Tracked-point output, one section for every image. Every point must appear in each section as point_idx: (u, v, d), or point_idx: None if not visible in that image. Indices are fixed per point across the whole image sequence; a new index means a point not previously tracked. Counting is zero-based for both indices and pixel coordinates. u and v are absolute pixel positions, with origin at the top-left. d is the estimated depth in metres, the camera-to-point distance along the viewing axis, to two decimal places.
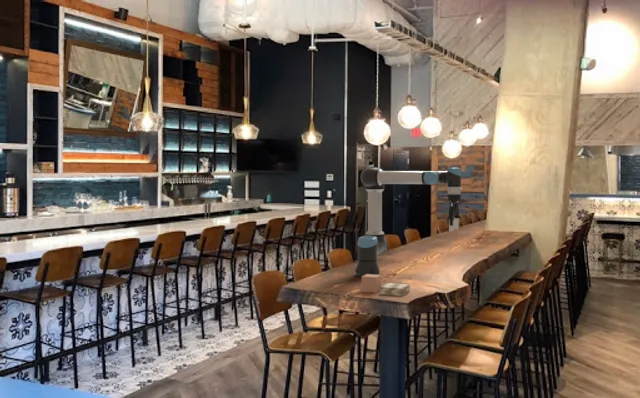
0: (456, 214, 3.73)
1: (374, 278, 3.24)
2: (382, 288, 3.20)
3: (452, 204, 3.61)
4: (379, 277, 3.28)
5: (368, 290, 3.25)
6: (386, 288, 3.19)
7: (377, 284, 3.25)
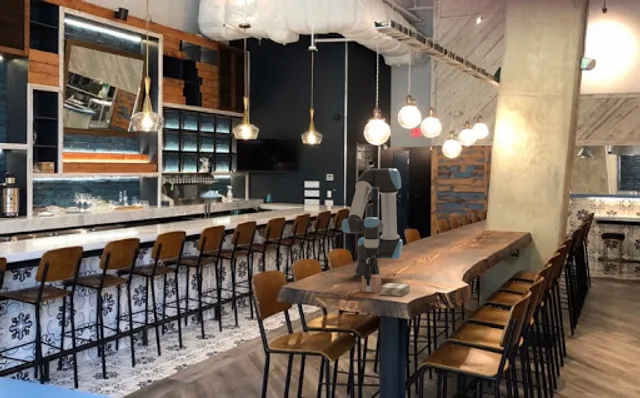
0: (374, 271, 3.32)
1: (374, 278, 3.24)
2: (382, 288, 3.20)
3: (367, 261, 3.22)
4: (379, 277, 3.28)
5: None
6: (386, 288, 3.19)
7: (377, 283, 3.25)
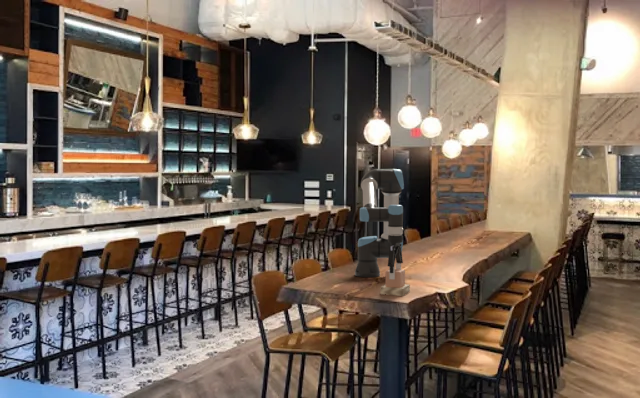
0: (398, 258, 3.27)
1: (398, 273, 3.18)
2: (382, 288, 3.20)
3: (392, 248, 3.16)
4: (403, 272, 3.23)
5: (392, 285, 3.20)
6: (386, 288, 3.19)
7: (401, 279, 3.20)
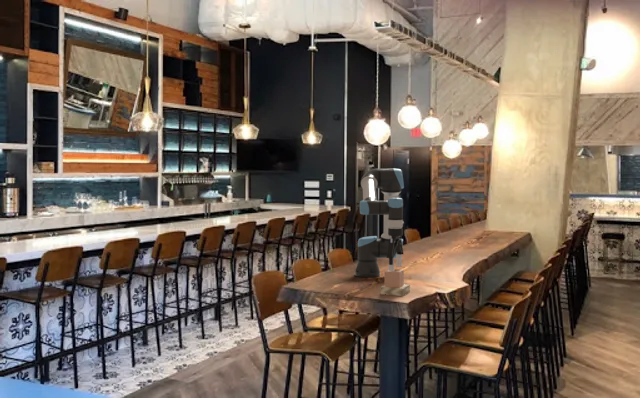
0: (399, 250, 3.28)
1: (397, 273, 3.18)
2: (382, 288, 3.20)
3: (392, 240, 3.16)
4: (402, 272, 3.23)
5: (391, 285, 3.20)
6: (386, 288, 3.19)
7: (400, 279, 3.20)
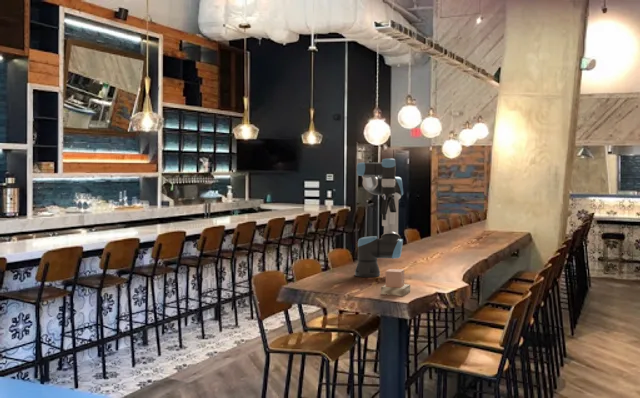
0: (392, 208, 3.52)
1: (399, 273, 3.18)
2: (383, 288, 3.20)
3: (385, 197, 3.40)
4: (403, 271, 3.23)
5: (392, 285, 3.20)
6: (387, 288, 3.19)
7: (401, 278, 3.20)
